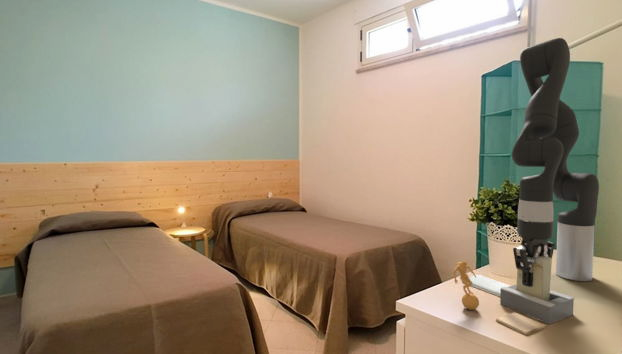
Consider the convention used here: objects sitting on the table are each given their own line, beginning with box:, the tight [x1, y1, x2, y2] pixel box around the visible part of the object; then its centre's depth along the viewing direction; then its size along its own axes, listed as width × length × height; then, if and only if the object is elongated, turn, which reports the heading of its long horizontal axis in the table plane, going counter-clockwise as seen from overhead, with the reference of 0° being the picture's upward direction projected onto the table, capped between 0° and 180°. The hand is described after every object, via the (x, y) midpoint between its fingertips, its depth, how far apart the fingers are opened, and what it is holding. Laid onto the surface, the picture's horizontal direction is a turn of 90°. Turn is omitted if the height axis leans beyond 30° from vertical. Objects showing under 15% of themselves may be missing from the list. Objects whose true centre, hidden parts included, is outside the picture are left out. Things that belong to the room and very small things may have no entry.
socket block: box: [499, 283, 575, 325], centre depth 85 cm, size 10×12×4 cm
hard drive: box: [461, 274, 511, 298], centre depth 100 cm, size 2×8×12 cm
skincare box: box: [516, 256, 553, 302], centre depth 86 cm, size 6×4×12 cm
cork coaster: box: [495, 311, 546, 336], centre depth 78 cm, size 7×7×1 cm
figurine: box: [452, 260, 480, 311], centre depth 86 cm, size 8×6×12 cm
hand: (533, 283), depth 86 cm, fingers closed on skincare box, 4 cm apart
